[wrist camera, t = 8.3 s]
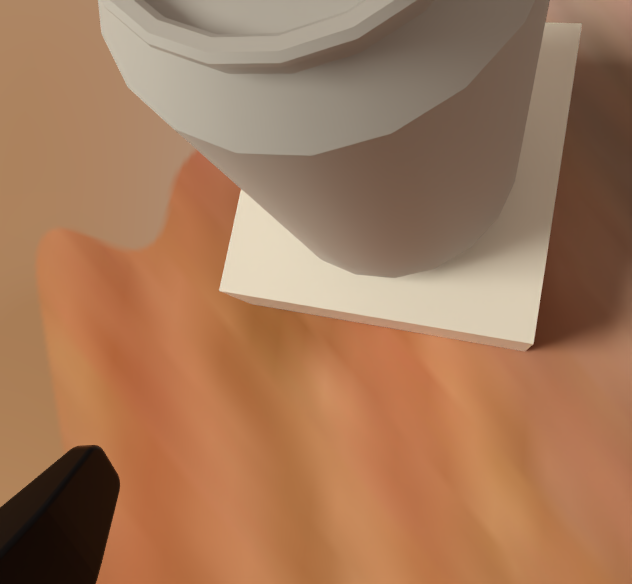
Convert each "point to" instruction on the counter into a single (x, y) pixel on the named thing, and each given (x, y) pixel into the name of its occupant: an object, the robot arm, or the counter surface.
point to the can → (346, 112)
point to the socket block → (451, 277)
